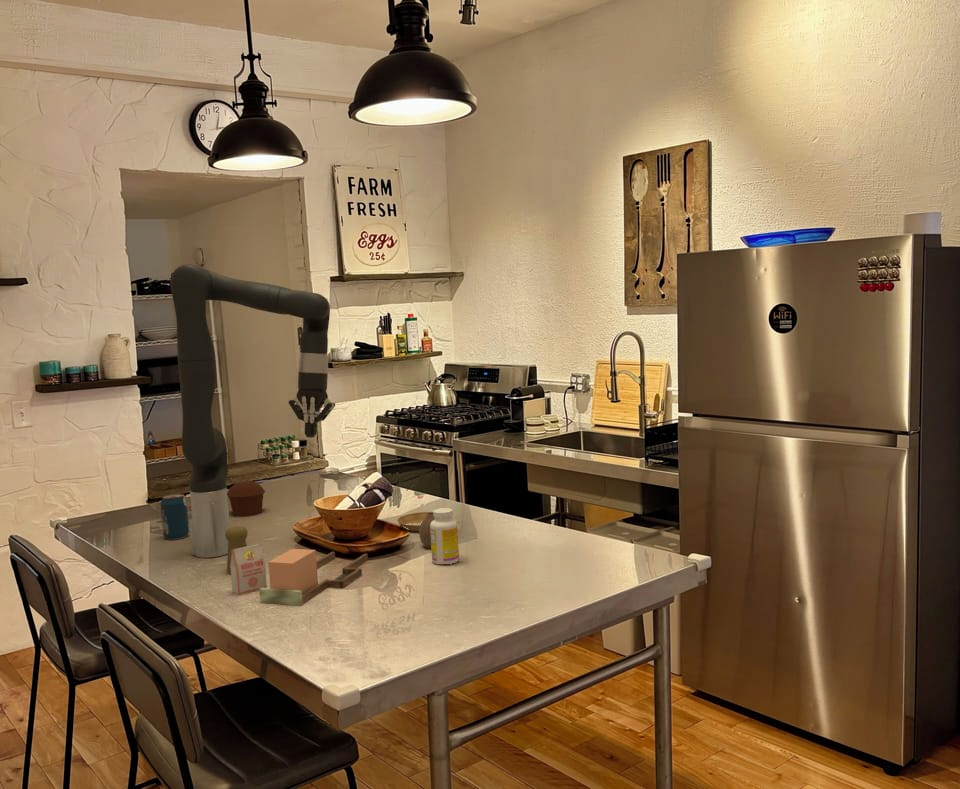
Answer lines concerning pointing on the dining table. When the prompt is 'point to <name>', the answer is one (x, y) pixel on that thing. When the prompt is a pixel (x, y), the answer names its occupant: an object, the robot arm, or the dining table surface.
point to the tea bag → (248, 569)
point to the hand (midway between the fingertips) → (310, 437)
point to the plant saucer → (412, 520)
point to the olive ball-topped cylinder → (235, 541)
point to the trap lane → (296, 595)
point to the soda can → (174, 516)
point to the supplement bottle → (444, 537)
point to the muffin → (246, 498)
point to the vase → (426, 530)
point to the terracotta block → (294, 570)
